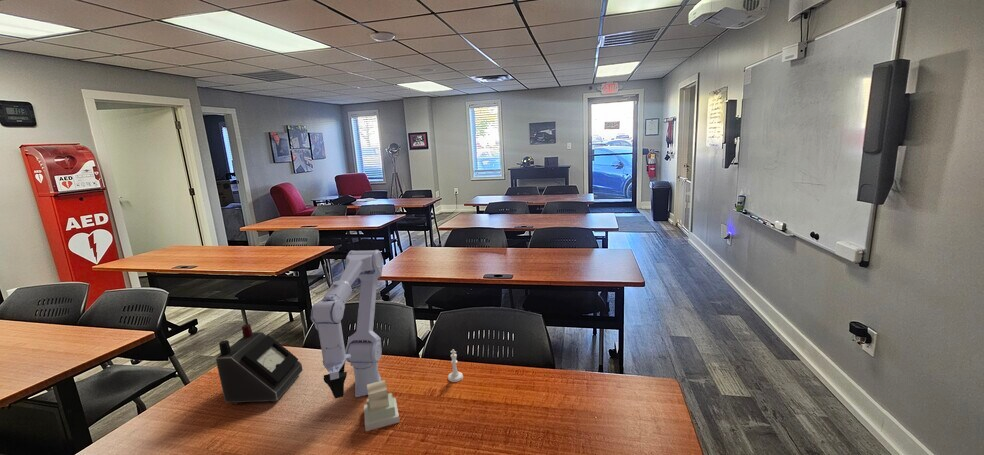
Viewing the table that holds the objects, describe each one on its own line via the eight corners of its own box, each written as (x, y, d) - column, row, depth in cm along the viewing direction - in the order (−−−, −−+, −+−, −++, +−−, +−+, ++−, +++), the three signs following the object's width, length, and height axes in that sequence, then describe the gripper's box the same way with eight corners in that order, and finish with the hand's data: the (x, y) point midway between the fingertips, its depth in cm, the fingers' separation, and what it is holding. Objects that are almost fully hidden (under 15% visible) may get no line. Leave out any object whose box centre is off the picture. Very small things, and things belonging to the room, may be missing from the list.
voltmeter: (279, 404, 122) (267, 344, 118) (226, 406, 122) (212, 346, 118) (304, 374, 138) (294, 320, 133) (257, 375, 138) (246, 322, 134)
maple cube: (369, 400, 114) (366, 384, 113) (387, 395, 116) (384, 379, 115) (370, 410, 110) (368, 394, 108) (389, 405, 111) (387, 389, 110)
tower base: (364, 412, 117) (363, 405, 116) (396, 404, 119) (395, 397, 119) (366, 433, 108) (364, 425, 108) (399, 424, 111) (398, 416, 111)
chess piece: (460, 382, 127) (458, 354, 125) (446, 381, 128) (443, 353, 126) (464, 373, 132) (462, 346, 130) (450, 372, 133) (448, 345, 131)
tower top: (367, 406, 115) (366, 399, 115) (392, 400, 118) (391, 392, 117) (369, 422, 109) (368, 414, 108) (395, 414, 111) (394, 406, 111)
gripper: (347, 353, 102) (355, 400, 105) (348, 329, 115) (354, 371, 118) (318, 359, 99) (326, 407, 102) (321, 334, 113) (328, 377, 116)
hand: (339, 388), depth 110 cm, fingers open, 7 cm apart
